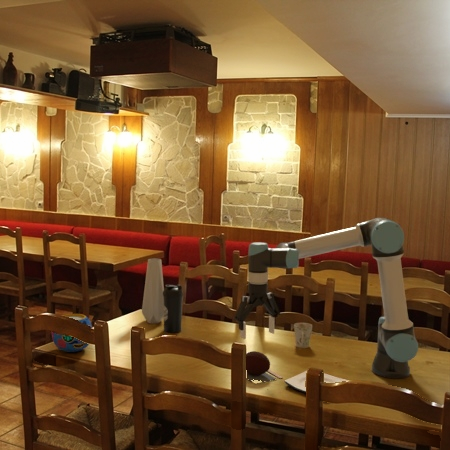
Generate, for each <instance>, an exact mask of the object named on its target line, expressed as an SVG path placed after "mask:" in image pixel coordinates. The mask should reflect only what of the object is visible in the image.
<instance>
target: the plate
mask: <svg viewBox="0 0 450 450" xmlns="http://www.w3.org/2000/svg"><path fill="white" fill-rule="evenodd" d="M306 373H307V370H305V371H303V372H301V373H299V374H296V375H295V376H292V377H289V378H287V379H285V380H284V383H285V384H286V385H287V386H289V387H291V388H293V390H294V389H295V390H296V391H300V392H302V393H304V392H305V393H304V394H307V393H306V387H305V381H306ZM323 373H324V372H323ZM347 380H348V379H344V378H341V377H337V376H333V375H331V374H327V373H326V372H325V373H324V382H326V383H335V382H342V381H347Z"/></svg>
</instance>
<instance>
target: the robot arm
mask: <svg viewBox="0 0 450 450" xmlns="http://www.w3.org/2000/svg"><path fill="white" fill-rule="evenodd" d="M404 242H405V233H404V229H403V228H402V227H401V226H400V224H398V222H396V221H394V220H392V219H390V218H388V217H383V216H381V217H376V218H372V219H371V220H370V219H369V220H367V221H362V222H360V223H357V224H356V225H355V226H354V227H349V228H345V229H344V228H343V229H340V230H336V231H331V232H328V233H324V234H318V235H315V236H312V237H311V236H310V237H307V238H302V239H299V240H298V239H297V240H295V241H290V242H281V243H278V245H276V246H275V248H271V247H269V244H268V243H267V242H261V241H260V242H251V243H250V244H249V245H248V254H247V256H248V260H247V261H248V262H247V263H248V265H247V266H248V276H247V277H248V283H247V284H248V285H247V288H248V290H247V291H248V296H247V295H246V296H245V295H241V299H240V303H239V305H238V307H237V311H236V313H235V315H234V319H233V320H234V321H236V322H238V330H239V331H240V332H239V333H240V336H239V337H240V338H241V339H243V340H246V338H247V321H246V319H247V318H248V316H249V315H250V313H251V311H252V310H253V309H254V308H257V307H260V306H261V307H264V309H265V310H266V311H267V312H268V313H269V315H268V332H269V333H270V334H275V325H276V323H277V318H278V316H279V315H281V311H280V309H279V306H278V304H277V301H276V300H275V294H274V293H273V292H269V291H268V281H269V280H268V279H269V277H268V276H269V274H268V273H269V272H268V270H269V269H270V268H274V269H275V268H276V269H282V268H283V269H297V268H299V265H300V263H299V262H300V261H299V260H300V259H304V258H309V257H313V256H318V255H323V254H326V253H332V252H336V251H340V250H345V249H348V248H353V247H359V246H361V247H363V248H365V247H369V246H370V248H371V256H372V258H373V259H375V260H376V263H377V270H378V276H379V277H378V278H379V283H380V284H379V285H380V291H381V292H380V293H381V300H382V307H383V316H380V317H379V319H378V323H377V324H378V325H377V327H378V328H377V329H378V330H377V347H376V348H377V349H376V354H375V356H374V359H373V361H372V364H371V372H373V374H375V375H377V376H379V377H384V378H388V379H405V378H408V377H409V376H410V375H411V367H410V366H409V362H410V361H412V360H413V359H414V358H415V357H416V356H417V354H418V352H419V342H418V340H417V338H416V336H415V327H414V322H412V321H411V320H410V319H409V314H408V307H407V299H406V298H407V296H406V292H405V291H406V290H405V289H406V288H405V284H404V275H403V268H402V267H403V266H402V259H401V258H402V257H403V255H405V250H404V249H405V248H404ZM267 299H268V301H267ZM269 303H270V304H269Z"/></svg>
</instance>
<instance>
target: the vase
mask: <svg viewBox="0 0 450 450" xmlns="http://www.w3.org/2000/svg"><path fill="white" fill-rule="evenodd" d="M162 262H163V261H162V259H161V258H156V257H155V258H148V259H147V264H146V265H147V266H146V274H145V281H144V283H145V284H144V290H143V298H142V299H143V300H142V306H141V313H142V314H141V315H143V317H144V319H145V321H146V322H147V323H148V324H160V323H161V322H162V321H163V320H164V297H163V291H164V289H165V287H164V276H163V264H162Z"/></svg>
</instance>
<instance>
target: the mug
mask: <svg viewBox="0 0 450 450" xmlns="http://www.w3.org/2000/svg"><path fill="white" fill-rule="evenodd" d="M293 326H294V327H293V330H294V339H295V346H296V347H297V348H299V349H308V348H309V347H310V343H311V337H312V331H313V324H311V323H308V322H296V323H294V325H293Z"/></svg>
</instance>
